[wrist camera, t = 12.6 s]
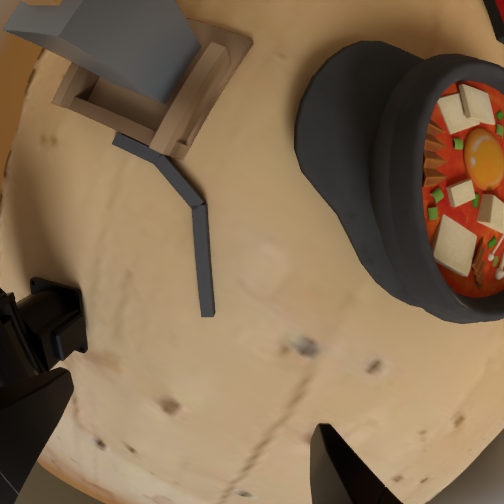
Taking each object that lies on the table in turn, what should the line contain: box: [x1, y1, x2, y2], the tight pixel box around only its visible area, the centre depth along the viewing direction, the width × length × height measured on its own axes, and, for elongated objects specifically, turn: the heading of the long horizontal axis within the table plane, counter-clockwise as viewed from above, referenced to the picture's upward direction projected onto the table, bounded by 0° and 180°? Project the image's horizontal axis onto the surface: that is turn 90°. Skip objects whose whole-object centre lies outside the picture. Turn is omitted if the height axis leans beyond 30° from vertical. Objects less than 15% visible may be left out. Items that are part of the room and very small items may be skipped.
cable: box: [112, 133, 215, 317], centre depth 20 cm, size 4×15×1 cm, turn 27°
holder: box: [52, 18, 253, 160], centre depth 16 cm, size 10×11×4 cm
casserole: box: [294, 41, 504, 324], centre depth 14 cm, size 25×19×8 cm
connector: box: [3, 0, 201, 104], centre depth 11 cm, size 5×5×13 cm
